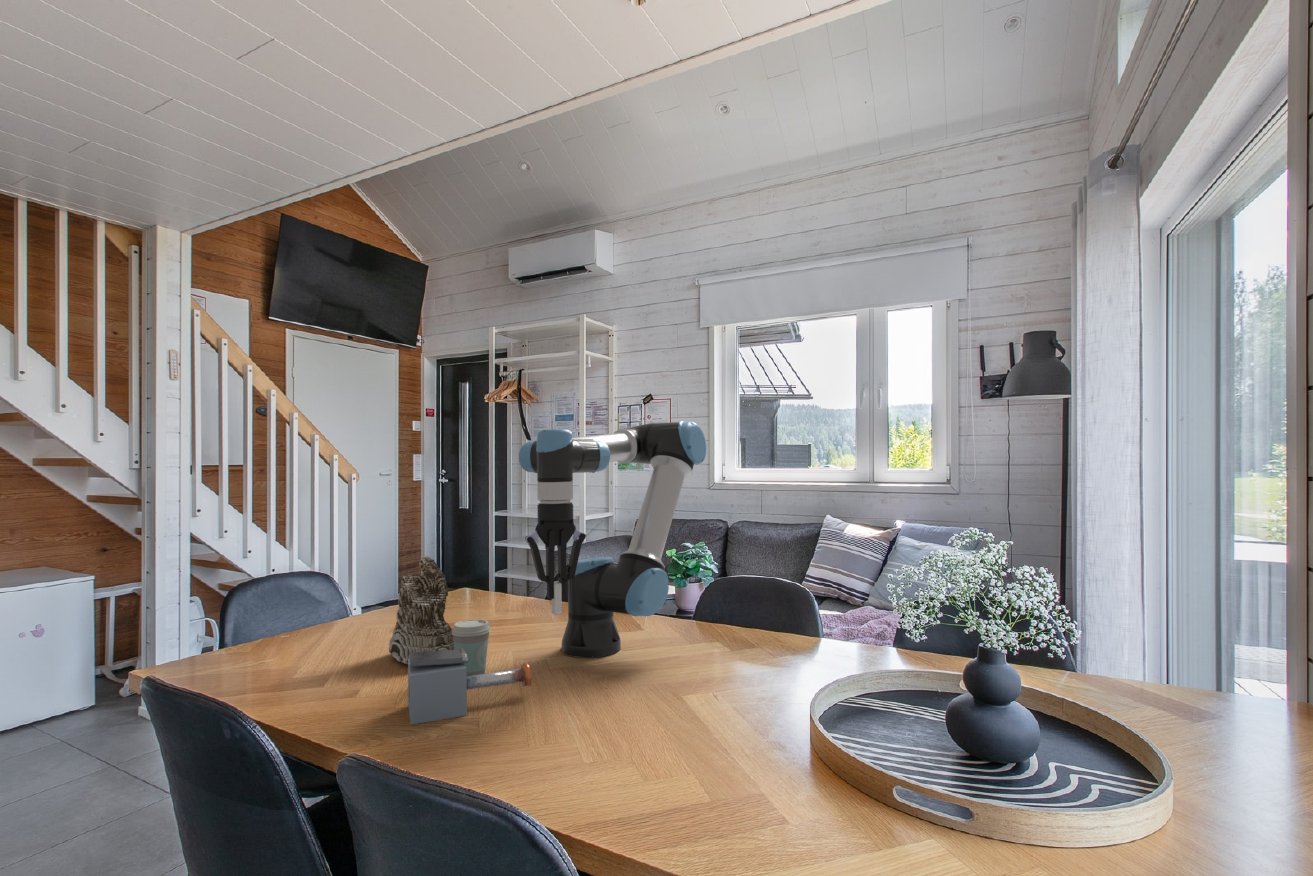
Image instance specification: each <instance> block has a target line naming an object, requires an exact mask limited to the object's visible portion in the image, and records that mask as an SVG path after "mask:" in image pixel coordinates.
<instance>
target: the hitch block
mask: <svg viewBox="0 0 1313 876" xmlns="http://www.w3.org/2000/svg"><path fill="white" fill-rule="evenodd" d="M407 669H408V670H407V675H408V676H407V679H408V680H407V682H408V683H407V693H408V694H407V703H408V704H407V706H408V713H409V714H408V715H409V721H410V725H418V724H424V723H429V722H430V723H431V722H435V721H441V720H448V719H453V718H459V717H466V716H468V715H467V714H468V712H467V710H468V709H467V707H468V706H467V697H468V696H467V691H468V690H467V679H466V666H465V664H464V663H456V664H439V665H423V666H410V661H408V664H407Z"/></svg>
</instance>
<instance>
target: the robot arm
mask: <svg viewBox="0 0 1313 876" xmlns="http://www.w3.org/2000/svg"><path fill="white" fill-rule="evenodd" d="M706 455H707V442H706V438H705V435H704V432H703V430H702V428H701V427H700V426H699V424H697V423H696V422H693V421H683V420H681V421H676V422H674V421H673V422H657V423H656V422H655V423H654V422H653V423H652V422H650V423H645V424H640V425H637V426H636V425H635V426H631V427H627V428H621V429H617V430H615V431H614V432H613V433H607V434H604V433H603V434H595V435H586V436H578V437H577V436H576V437H573V432H572V431H571V429H564V428H562V429H561V428H559V429H557V428H553V429H541V430H539V431H538V432H537V436H536V440H533V441H527V442H524V443H523V444H522V445H521V447H519V451H518V462H519V465H520V467H521V468H522V469H523V471H525V472H528V473H535V474H536V475H537V476H536V477H537V479H536V480H537V485H536V486H537V487H536V488H537V491H536V492H537V494H536V496H537V501H539V503H538V504H537V505H536V507H537V524H536V526H535V529H534V532H532V533H531V534H529V535H526V536H525V537H524V540H525V542H526V544H527V545H528V546H529V548H530V552H531V553H530V554H531V556H532V560H533V564H534V568H535V572H536V575H537V578H538V580H539V581H541V582H544V583H546V596H547V599H549V600H551V614H553V616H562V615H563V609H562V608H563V606H562V605H563V604H562V601H563V600H562V598H566V596H567V609H568V610H567V611H568V612H567V613H568V614H567V615H568V616H567V619H568V620H567V623H566V627H565V629H564V633H563V636H562V640H561V652H562V653H563V654H564V655H566V656H568V657H575V658H585V659H586V658H588V659H589V658H600V657H607V656H611V655H613V654H616V653H618V652H619V651H620V650H621V648H622V647H621V643H622V641H621V636H620V633H619V631H618V627H617V625H616V622H615V618H614V613H617V614H622V615H628V616H629V615H630V616H632V617H650V616H653V615H655V614H657V613H658V612H659V611H660V609H661V608H662V607H663V605H664V604H665V602H666V600H667V598H668V594H669V587H670V586H669V585H668V584H669V582H670V581H669V577H668V574H667V573H666V572H665V567H666V566H665V564H664V563H663V561H662V557H663V553H664V550H665V546H666V543H667V540H668V536H669V533H670V529H671V525H672V521H673V518H674V515H675V511H676V508H677V505H678V500H679V498H680V494H681V490H682V487H683V483H684V479H686V478H687V477H689V476H691V474H692V472H693V469H694V465H700V464H702V463H703V462H704V461H705V459H706V457H707V456H706ZM612 462H614V463H615V462H617V463H620V464H632V463H633V464H646V465H650V466H651V467H652V469H653V470H652V473H651V476H650V480H649V483H648V487H647V489H646V493H645V496H644V499H643V503H642V505H641V508H640V512H639V516H638V518H637V521H636V523H635V528H634V531H633V534H632V538H631V541H630V544H629V546H628V549H627V550H625V551H623V552H622V553H621V554H620V555H619V558H618V562H617V564H614V559H613V558H612V557H611V556H603V557H594V558H593V557H592V558H586V559H579V558H580V555H581V554H580V553H581V548H582V544H583V543H584V542H585V539H586V538H587V534H586V533H583V532H581V531H579V530H577V528H576V525H575V523H574V503H573V502H572V500H573V499H574V482H573V480H574V475H573V474H574V473H575V474H576V473H577V474H578V473H579V474H581V473H582V474H583V473H585V474H586V473H592V474H593V473H596V472H601V471H604V470H605V469H606V468H607V467H608V465H609V464H610V463H612ZM571 538H572V539H573V541H572V546H571V550H570V555H569V559H568V564H567V546H568V543H569V541H570V540H571ZM539 539H540V541H542V543H543V544H544V546H545V547H544V549H545V568H544V564H543V561H542V556H541V554H540V553H541V552H540V550H539V546H538V542H539ZM555 549H557V576H558V577H557V579H558V580H557V581H555Z"/></svg>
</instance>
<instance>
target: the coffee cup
mask: <svg viewBox="0 0 1313 876" xmlns="http://www.w3.org/2000/svg"><path fill="white" fill-rule="evenodd" d="M489 624H490V623H489V621H488V620H486V619H482V618H478V619H477V618H476V619H475V618H473V619H465V620H460V621H456V622H455V623H454V624H453V628H452V635H453V640H454V648H455V650H459V649H461V648H463V649H464V651H465V653H466V655H467V657H468V659H469V661H468V662H467V663H464V664H465V666H466V676H471V675H478V674H486V666H487V656H488V645H489V639H490V638H489V637H490V636H489V635H490V632H491V631H492V630H491V626H490V625H489Z"/></svg>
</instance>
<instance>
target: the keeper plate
mask: <svg viewBox="0 0 1313 876" xmlns="http://www.w3.org/2000/svg"><path fill="white" fill-rule="evenodd" d="M409 661H410V666H423V665H439V664H456V663H467V662H468V661H469V659H468V657H467V655H466V653H465V651H464V649H463V648H461V649H459V650H445V651H427V652H409Z"/></svg>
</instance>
